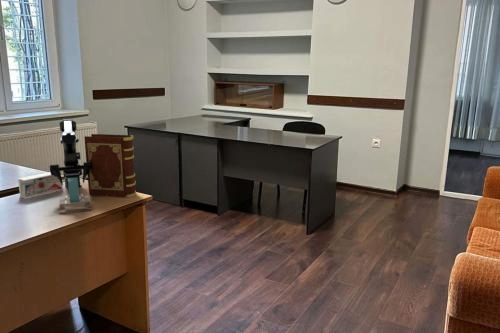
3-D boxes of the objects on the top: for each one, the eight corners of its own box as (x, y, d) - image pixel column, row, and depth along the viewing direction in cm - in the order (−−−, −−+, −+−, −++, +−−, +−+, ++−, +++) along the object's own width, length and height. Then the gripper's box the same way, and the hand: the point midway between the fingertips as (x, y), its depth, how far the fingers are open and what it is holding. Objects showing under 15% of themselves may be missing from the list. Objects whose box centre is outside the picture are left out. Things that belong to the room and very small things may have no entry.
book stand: (59, 201, 198) (58, 193, 197) (88, 198, 203) (88, 190, 202) (59, 214, 181) (58, 205, 180) (91, 210, 186) (90, 202, 185)
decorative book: (138, 193, 213) (135, 135, 205) (132, 197, 205) (129, 137, 198) (96, 191, 215) (91, 133, 208) (88, 195, 207) (83, 136, 200)
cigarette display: (25, 199, 201) (23, 180, 199) (20, 196, 204) (17, 178, 202) (64, 189, 217) (63, 172, 215) (58, 187, 220) (57, 170, 218)
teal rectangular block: (70, 203, 193) (67, 178, 190) (79, 202, 195) (77, 177, 192) (70, 207, 188) (67, 181, 185) (79, 206, 189) (77, 180, 186)
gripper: (47, 148, 193) (49, 176, 186) (90, 145, 200) (93, 173, 193) (50, 160, 202) (51, 188, 195) (90, 157, 209) (94, 184, 202)
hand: (72, 183), depth 196 cm, fingers open, 9 cm apart
